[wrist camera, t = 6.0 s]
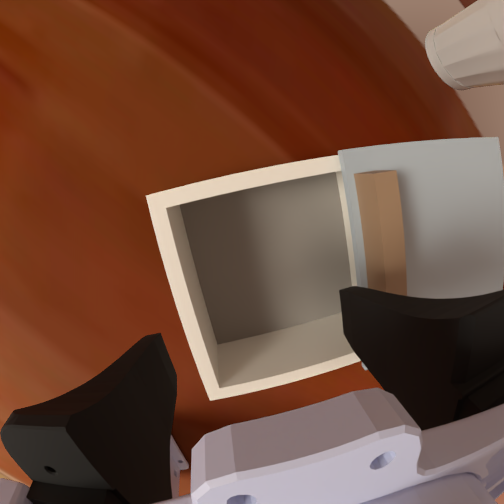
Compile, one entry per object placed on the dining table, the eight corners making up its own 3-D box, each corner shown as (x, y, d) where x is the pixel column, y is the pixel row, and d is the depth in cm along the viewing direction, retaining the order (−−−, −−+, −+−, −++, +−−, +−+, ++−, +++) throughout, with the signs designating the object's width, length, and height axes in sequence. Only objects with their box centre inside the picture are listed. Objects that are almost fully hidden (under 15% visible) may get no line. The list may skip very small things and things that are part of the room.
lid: (496, 305, 18) (517, 316, 16) (362, 365, 17) (379, 389, 15) (493, 137, 15) (519, 136, 12) (337, 150, 14) (360, 146, 12)
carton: (428, 287, 24) (472, 312, 18) (209, 350, 23) (210, 400, 17) (416, 145, 21) (467, 141, 15) (165, 190, 20) (145, 195, 14)
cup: (430, 7, 18) (513, -39, 6) (485, 63, 20) (572, 42, 8) (406, 54, 19) (510, 6, 7) (467, 116, 21) (572, 105, 9)
